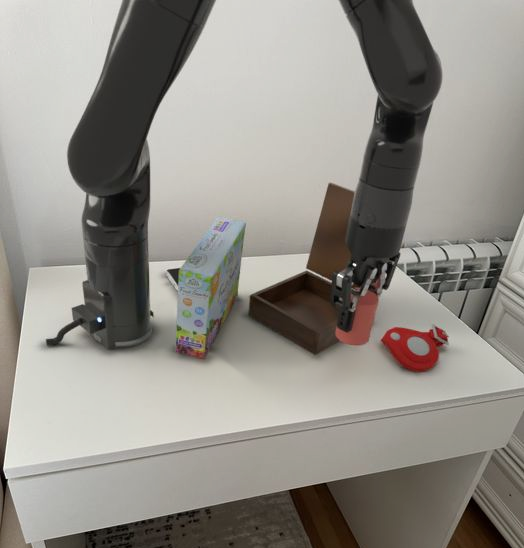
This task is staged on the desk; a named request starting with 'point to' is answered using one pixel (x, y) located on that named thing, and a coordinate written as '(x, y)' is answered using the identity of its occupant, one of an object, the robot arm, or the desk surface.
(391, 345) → the red rounded piece
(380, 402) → the desk surface
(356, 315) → the pink cylinder
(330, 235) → the lid
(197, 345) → the snack box
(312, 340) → the chest
